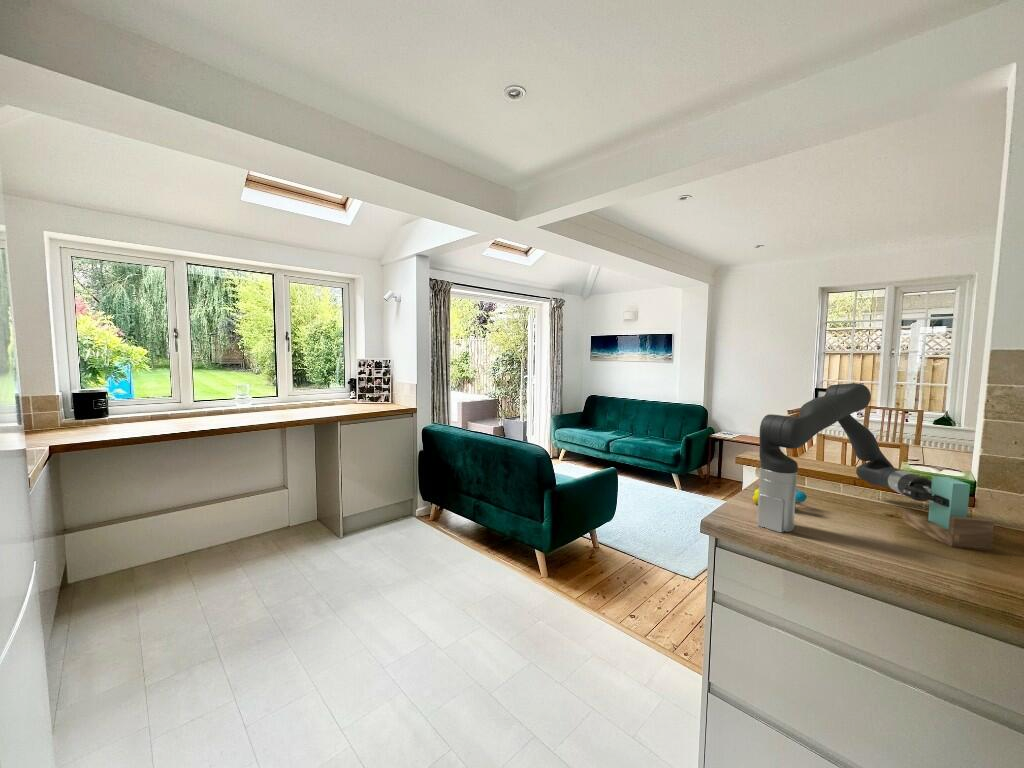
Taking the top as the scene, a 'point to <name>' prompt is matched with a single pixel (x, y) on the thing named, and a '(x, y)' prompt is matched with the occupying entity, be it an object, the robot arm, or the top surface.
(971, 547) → the brown wooden drawer
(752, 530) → the top surface
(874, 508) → the top surface
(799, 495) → the molecular model
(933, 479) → the teal rectangular block
